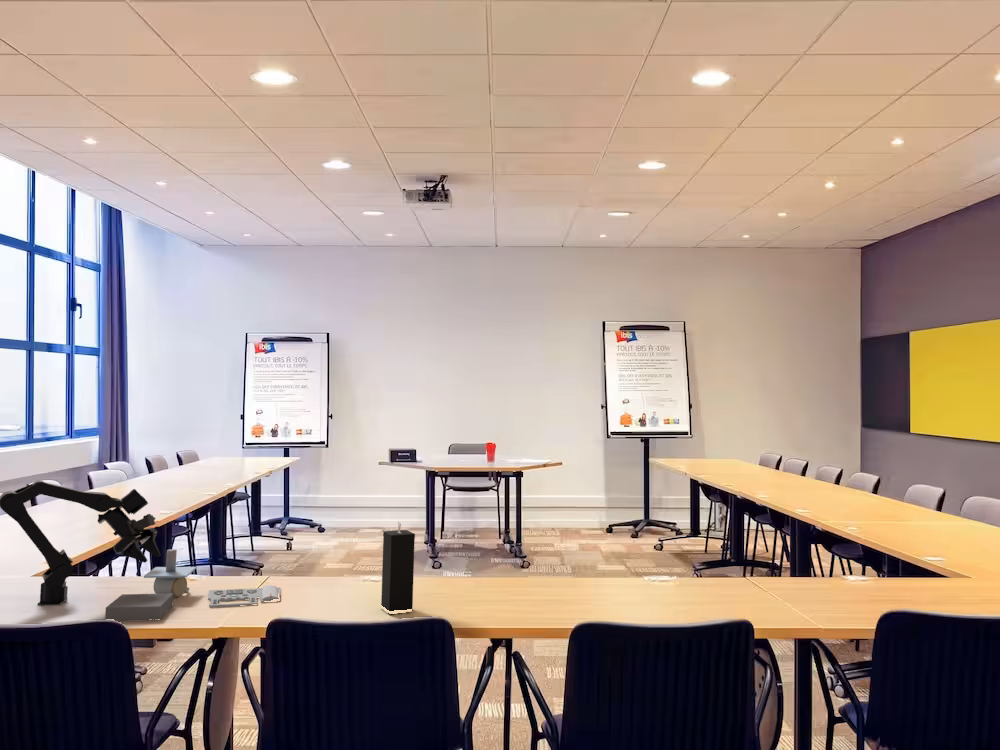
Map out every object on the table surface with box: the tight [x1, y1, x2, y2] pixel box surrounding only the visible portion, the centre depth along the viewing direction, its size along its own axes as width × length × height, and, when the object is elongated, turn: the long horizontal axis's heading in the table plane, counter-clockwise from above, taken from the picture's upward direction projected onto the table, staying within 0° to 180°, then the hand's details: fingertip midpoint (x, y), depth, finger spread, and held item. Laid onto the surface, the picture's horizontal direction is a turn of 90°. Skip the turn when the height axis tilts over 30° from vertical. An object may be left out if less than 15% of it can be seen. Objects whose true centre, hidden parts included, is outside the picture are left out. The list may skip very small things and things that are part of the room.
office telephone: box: [207, 584, 282, 609], centre depth 244 cm, size 23×3×20 cm
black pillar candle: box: [380, 521, 416, 611], centre depth 234 cm, size 8×8×28 cm
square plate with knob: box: [143, 548, 197, 579], centre depth 244 cm, size 13×13×8 cm
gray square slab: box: [104, 593, 174, 622], centre depth 224 cm, size 15×15×4 cm
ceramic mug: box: [153, 577, 190, 598], centre depth 246 cm, size 11×8×8 cm
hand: (152, 558), depth 243 cm, fingers open, 9 cm apart
